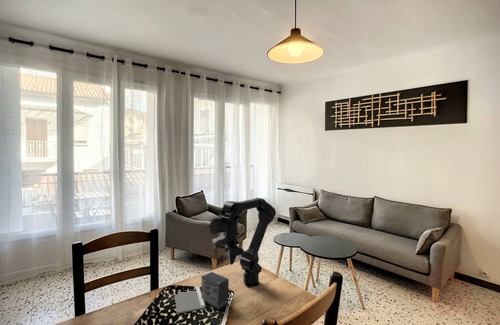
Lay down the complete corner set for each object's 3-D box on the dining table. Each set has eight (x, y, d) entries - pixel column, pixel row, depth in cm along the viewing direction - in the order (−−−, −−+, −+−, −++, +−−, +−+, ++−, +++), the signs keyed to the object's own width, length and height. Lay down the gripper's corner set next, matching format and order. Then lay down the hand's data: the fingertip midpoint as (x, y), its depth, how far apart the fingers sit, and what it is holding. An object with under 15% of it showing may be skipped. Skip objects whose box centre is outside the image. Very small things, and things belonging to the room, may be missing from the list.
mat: (199, 289, 120) (199, 286, 120) (204, 308, 105) (204, 304, 105) (174, 293, 116) (174, 290, 116) (176, 313, 101) (176, 310, 101)
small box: (229, 303, 109) (229, 278, 108) (218, 310, 104) (218, 284, 103) (212, 294, 115) (212, 270, 115) (200, 300, 110) (200, 276, 110)
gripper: (210, 226, 123) (210, 258, 123) (217, 237, 105) (217, 275, 106) (233, 224, 127) (232, 256, 127) (244, 235, 109) (244, 272, 109)
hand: (231, 264), depth 117 cm, fingers closed
